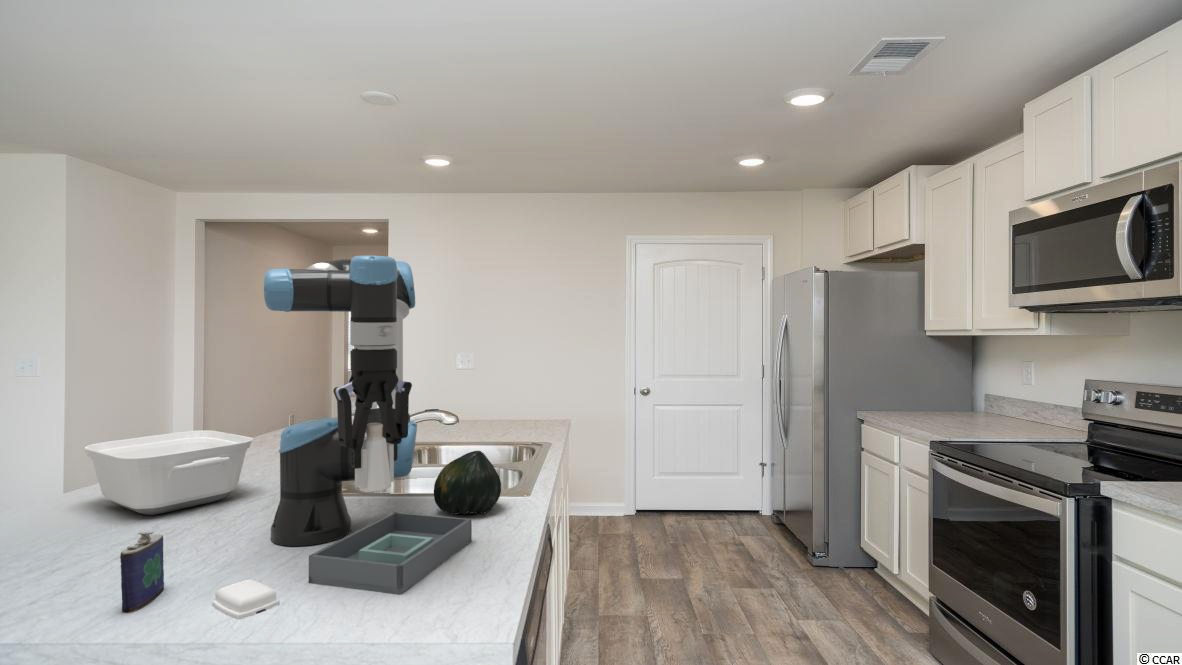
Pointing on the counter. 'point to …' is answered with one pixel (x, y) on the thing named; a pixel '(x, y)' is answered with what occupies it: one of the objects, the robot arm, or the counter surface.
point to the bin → (390, 552)
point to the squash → (467, 485)
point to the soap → (244, 599)
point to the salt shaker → (376, 459)
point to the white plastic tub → (169, 469)
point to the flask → (142, 572)
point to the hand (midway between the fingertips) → (374, 483)
